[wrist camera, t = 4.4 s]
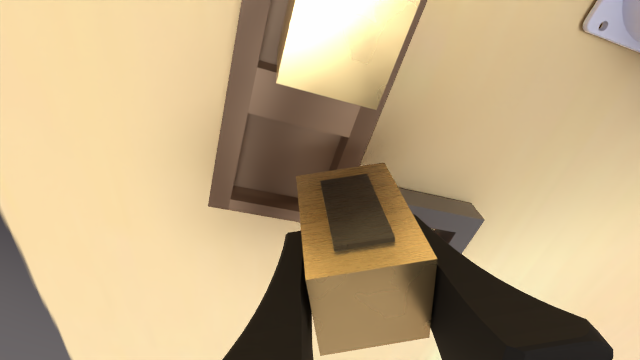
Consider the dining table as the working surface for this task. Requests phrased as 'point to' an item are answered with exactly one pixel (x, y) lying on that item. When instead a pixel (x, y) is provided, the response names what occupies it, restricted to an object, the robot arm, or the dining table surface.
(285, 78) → the block
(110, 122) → the dining table surface
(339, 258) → the block
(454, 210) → the button housing
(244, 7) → the brown compartment tray
